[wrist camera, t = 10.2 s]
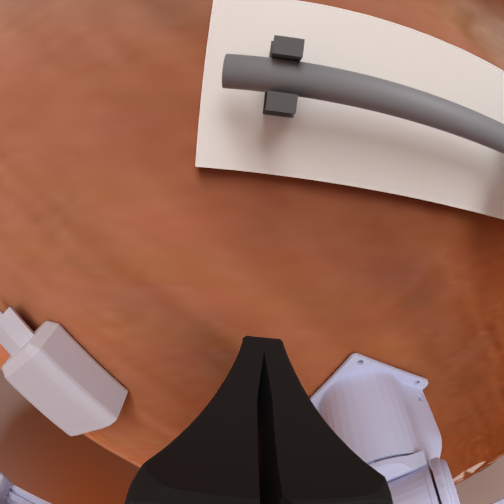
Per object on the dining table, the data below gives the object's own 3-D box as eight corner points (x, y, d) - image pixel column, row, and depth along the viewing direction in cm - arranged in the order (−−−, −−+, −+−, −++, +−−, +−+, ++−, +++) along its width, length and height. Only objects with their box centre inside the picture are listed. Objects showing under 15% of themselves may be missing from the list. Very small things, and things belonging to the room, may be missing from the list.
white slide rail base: (574, 123, 14) (619, 136, 9) (552, 231, 18) (592, 260, 13) (216, -1, 14) (198, -41, 9) (198, 163, 18) (172, 186, 13)
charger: (17, 264, 22) (131, 386, 27) (-14, 307, 24) (81, 406, 29) (-16, 292, 17) (115, 425, 22) (-40, 332, 20) (66, 437, 25)
